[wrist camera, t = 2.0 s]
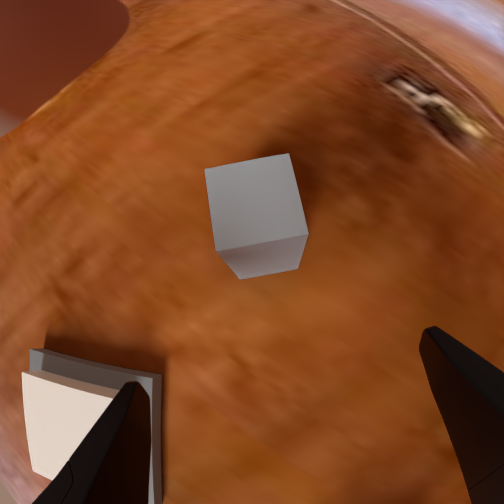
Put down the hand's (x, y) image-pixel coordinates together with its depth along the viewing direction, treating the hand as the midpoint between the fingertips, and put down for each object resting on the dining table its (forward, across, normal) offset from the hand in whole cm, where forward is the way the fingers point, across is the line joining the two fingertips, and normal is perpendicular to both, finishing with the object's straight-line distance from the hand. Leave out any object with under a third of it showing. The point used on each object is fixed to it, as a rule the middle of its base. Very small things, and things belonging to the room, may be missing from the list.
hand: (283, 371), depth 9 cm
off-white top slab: (+4, +16, +12) cm, 21 cm away
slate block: (+14, 0, +4) cm, 15 cm away
